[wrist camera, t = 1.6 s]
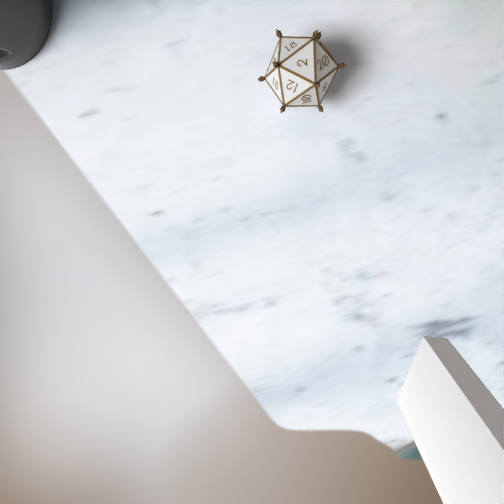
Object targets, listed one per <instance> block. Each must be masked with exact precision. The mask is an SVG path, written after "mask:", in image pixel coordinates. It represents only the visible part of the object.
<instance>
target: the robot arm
mask: <svg viewBox="0 0 504 504" xmlns="http://www.w3.org/2000/svg"><path fill="white" fill-rule="evenodd" d="M50 22H51V0H0V70H4V69H11V68H15V67H17V66H20V65H22V64H24V63H26V62H27V61H28V60H30V59H31V58H32V57H33V56H34V55H35V54H36V53H37V52H38V51H39V49H40V48H41V46H42V45H43V43H44V41H45V39H46V37H47V34H48V31H49V27H50ZM396 402H397V405H398V407H399V409H400V411H401V413H402V415H403V418H404V420H405V422H406V424H407V426H408V428H409V430H410V433H411V435H412V437H413V439H414V441H415V443H416V445H417V448H418V450H419V452H420V454H421V456H422V458H423V460H424V462H425V465H426V467H427V469H428V471H429V473H430V475H431V477H432V480H433V482H434V484H435V486H436V488H437V490H438V492H439V495H440V497H441V499H442V501H443V503H444V504H504V409H503V408H502V406H501V405H500V404H499V403H498V401H497V400H496V399H495V398H494V396H493V395H492V394H491V393H490V391H489V390H488V389H487V388H486V386H485V385H484V384H483V383H482V381H481V380H480V379H479V378H478V376H477V375H476V374H475V373H474V371H473V370H472V369H471V368H470V366H469V365H468V364H467V363H466V361H465V360H464V359H463V358H462V356H461V355H460V354H459V353H458V351H457V350H456V349H455V348H454V346H453V345H452V344H451V343H450V341H449V340H448V339H446V338H437V337H428V336H423V337H422V340H421V342H420V345H419V347H418V350H417V352H416V354H415V357H414V359H413V362H412V364H411V367H410V369H409V372H408V374H407V376H406V379H405V381H404V384H403V386H402V389H401V391H400V394H399V396H398V398H397V401H396Z"/></svg>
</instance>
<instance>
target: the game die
mask: <svg viewBox="0 0 504 504" xmlns="http://www.w3.org/2000/svg"><path fill="white" fill-rule="evenodd" d="M276 35H277V37H279V38H280V39H279V42H278V44H277V47H276V49H275V52H274V54H273V57H272V59H271V62H270V65H269V67H268V70H267V72H266V75H265V77H263V76H262V77H261V76H260V78H258V79H257V80H259V81H264V80H266V82H267V83H268V85H269V86H270V87H271V89H272V90H273V92H274V93H275V94H276V96H277V97H278V99H279V100H280V102H281V103H282V104H283V106H282V107H281V108H280V110H281V113H282V112H284V111H285V109H286V108H285V107H299V106H318V109H319V111H321V112H323V107H322V106H321V105H320V104H321V102H322V100H323V98H324V96H325V94H326V92H327V90H328V88H329V86H330V84H331V82H332V80H333V78H334V76H335V74H336V72H337V70H338V68H344V67H345V66H347V65H346V64H344V63H342V64H339V65H338V64H337V62H336V61H335V60H334V59H333V57H332V56H331V55H330V54H329V52H328V51H327V50H326V48H325V47H324V46H323V45H322V43H321V42H320V41H319V39H320V37H321V32H319V33H318V30H316V31H315V32H313V35H312V36H313V37H285V36H282V33H281V31H279V30H277V29H276Z"/></svg>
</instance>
